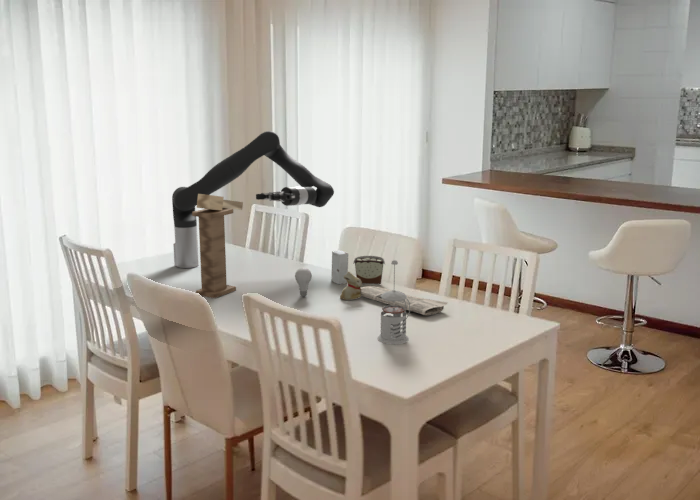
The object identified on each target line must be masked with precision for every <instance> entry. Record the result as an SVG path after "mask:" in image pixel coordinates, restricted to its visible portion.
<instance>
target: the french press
mask: <svg viewBox="0 0 700 500" xmlns="http://www.w3.org/2000/svg"><path fill="white" fill-rule="evenodd" d="M398 264H399V263H398V260H396V259H393V260H391V265H393V288H395V286H396V285H395V281H396V280H395V278H396V277H395V276H396V274H395V273H396V265H398ZM391 290H392V289H391ZM407 295H408V294H406V293H405V292H403V291H399V290H395V289H393V290H392V291H387V292H385V293H383V294H382V295H381V298H382V299H384V300H387V301H400V302H402V301H403V300H404V302H405V308H404V307H402V306H395V305H394V304H393V305H390V304H388V305H384V306H383V307H382V308H381V313H380V334H379V335H378V336H377V340H378V342H380V343H383V344H387V345H401V344H406V343H407V342H408V341H409V339H410V338H409V337H408V336H407V333H406V332H407V319H408V317H409V316H410V313H411V311H410V303H409V310H408V313H407V310H406V301H405V299H406V298H407ZM406 300H408V299H406ZM404 302H402V303H404ZM408 302H409V300H408Z"/></svg>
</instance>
